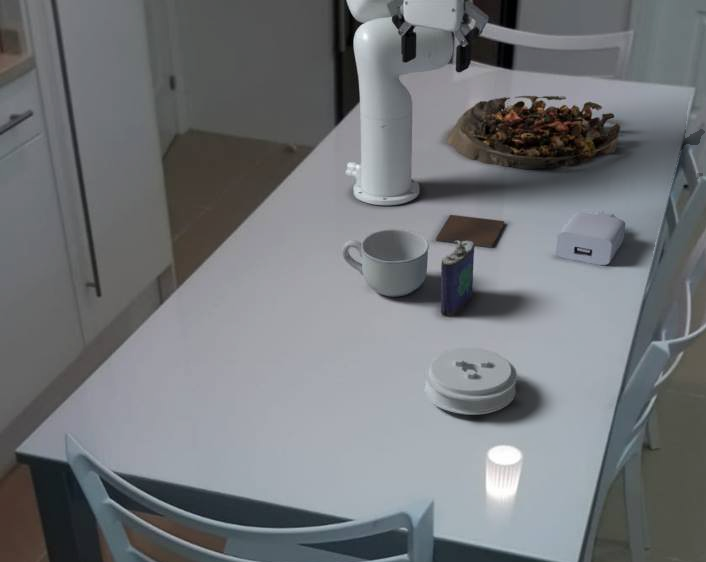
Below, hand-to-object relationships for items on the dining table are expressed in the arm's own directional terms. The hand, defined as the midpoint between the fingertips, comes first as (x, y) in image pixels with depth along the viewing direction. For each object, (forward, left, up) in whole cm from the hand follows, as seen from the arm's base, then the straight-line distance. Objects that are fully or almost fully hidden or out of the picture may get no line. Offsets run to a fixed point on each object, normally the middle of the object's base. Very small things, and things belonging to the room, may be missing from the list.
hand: (435, 65), depth 172 cm
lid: (+29, -39, -31) cm, 57 cm away
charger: (+25, +14, -31) cm, 42 cm away
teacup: (+2, -18, -31) cm, 35 cm away
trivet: (+4, +7, -30) cm, 31 cm away
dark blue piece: (+15, -17, -31) cm, 38 cm away
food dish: (-6, +52, -31) cm, 61 cm away
